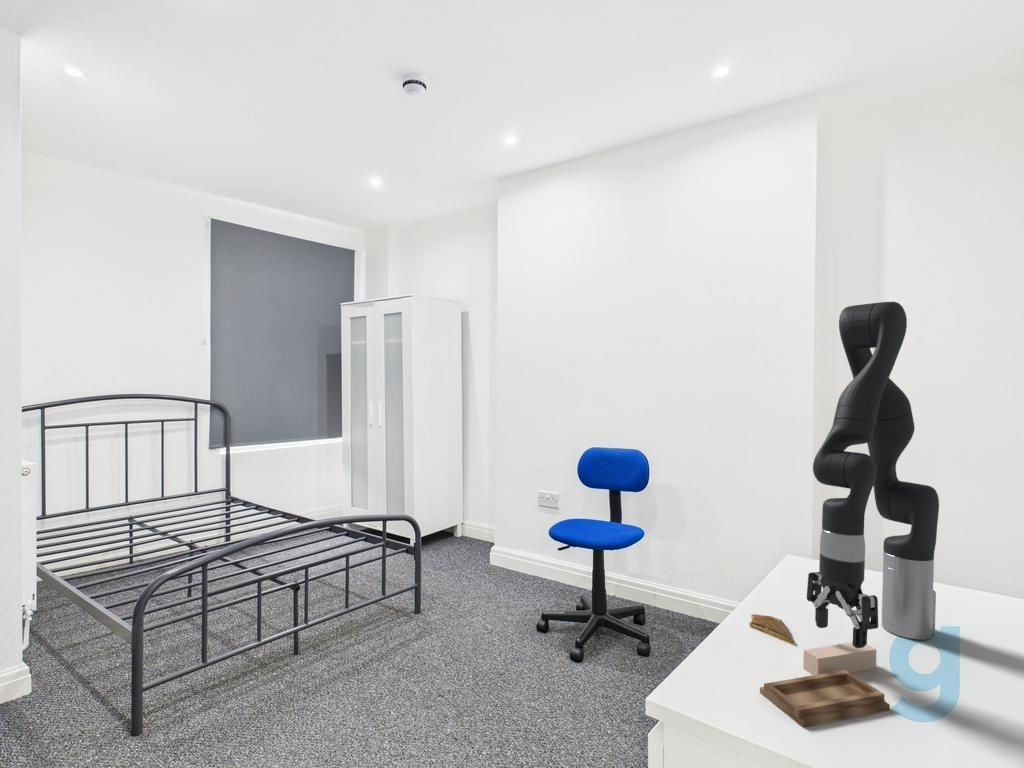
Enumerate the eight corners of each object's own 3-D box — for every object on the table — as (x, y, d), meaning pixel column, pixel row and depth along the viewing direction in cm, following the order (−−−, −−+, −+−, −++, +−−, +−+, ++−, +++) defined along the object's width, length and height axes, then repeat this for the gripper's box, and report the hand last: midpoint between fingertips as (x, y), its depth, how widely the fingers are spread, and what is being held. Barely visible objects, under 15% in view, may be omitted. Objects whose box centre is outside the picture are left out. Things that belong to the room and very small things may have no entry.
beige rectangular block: (860, 660, 111) (860, 640, 111) (875, 669, 108) (876, 649, 108) (803, 670, 108) (803, 649, 107) (817, 679, 104) (818, 658, 104)
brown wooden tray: (840, 678, 104) (840, 667, 104) (889, 710, 94) (889, 697, 94) (759, 692, 99) (760, 680, 99) (803, 727, 90) (803, 713, 90)
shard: (793, 647, 117) (793, 638, 117) (754, 642, 119) (754, 634, 119) (781, 624, 128) (781, 616, 128) (746, 620, 129) (746, 613, 129)
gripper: (891, 564, 101) (888, 652, 102) (827, 541, 115) (825, 619, 115) (858, 567, 99) (856, 657, 100) (797, 544, 113) (795, 622, 113)
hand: (839, 636), depth 108 cm, fingers open, 8 cm apart
